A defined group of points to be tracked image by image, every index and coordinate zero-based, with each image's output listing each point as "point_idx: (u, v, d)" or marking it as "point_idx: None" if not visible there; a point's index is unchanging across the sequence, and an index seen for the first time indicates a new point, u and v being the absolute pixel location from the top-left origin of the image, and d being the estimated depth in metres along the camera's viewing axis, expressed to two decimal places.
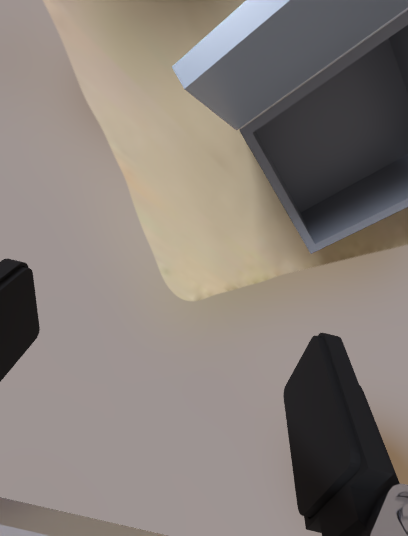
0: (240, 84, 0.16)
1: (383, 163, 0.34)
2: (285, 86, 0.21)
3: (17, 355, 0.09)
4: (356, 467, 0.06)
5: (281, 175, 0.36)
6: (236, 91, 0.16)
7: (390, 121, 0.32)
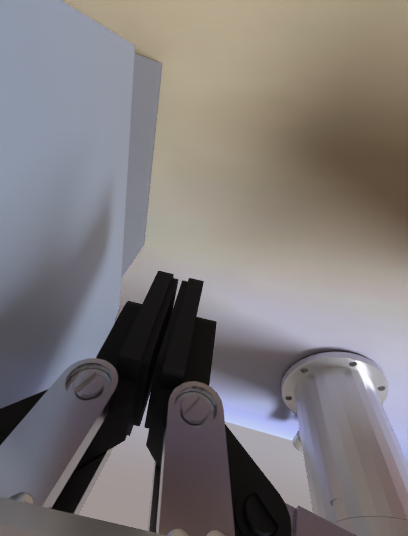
0: None
1: None
2: None
3: None
4: (160, 369, 0.07)
5: None
6: None
7: None
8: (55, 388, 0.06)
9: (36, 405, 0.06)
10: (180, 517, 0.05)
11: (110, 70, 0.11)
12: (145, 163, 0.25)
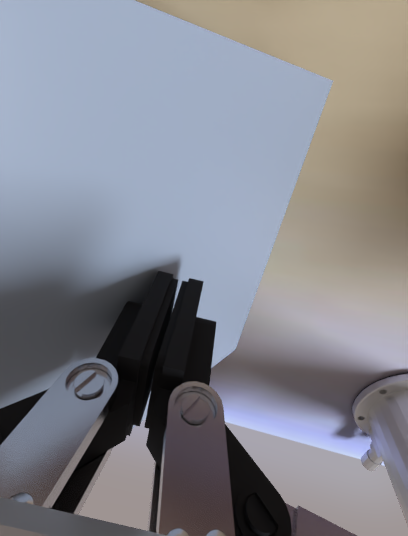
0: None
1: None
2: None
3: None
4: (161, 369, 0.07)
5: None
6: None
7: None
8: (55, 388, 0.06)
9: (36, 405, 0.06)
10: (180, 517, 0.05)
11: (262, 99, 0.10)
12: None
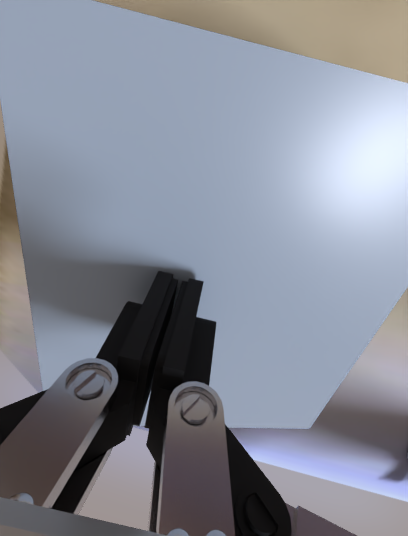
0: None
1: None
2: None
3: None
4: (161, 369, 0.07)
5: None
6: None
7: None
8: (55, 388, 0.06)
9: (36, 405, 0.06)
10: (180, 517, 0.05)
11: (358, 124, 0.08)
12: None
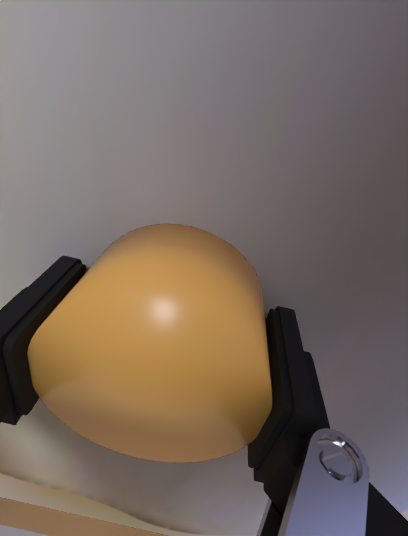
0: None
1: None
2: None
3: None
4: (288, 414, 0.07)
5: None
6: None
7: None
8: None
9: None
10: None
11: None
12: None
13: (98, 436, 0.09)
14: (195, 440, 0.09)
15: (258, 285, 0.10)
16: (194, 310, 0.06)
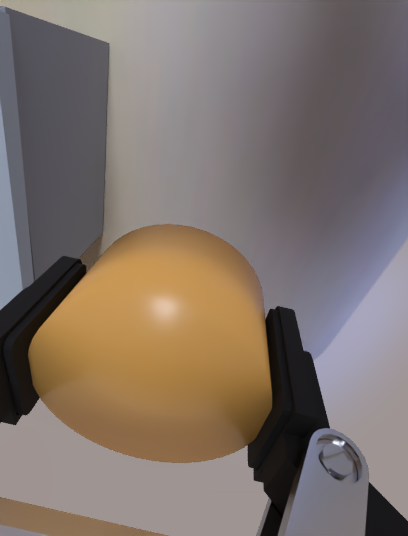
0: None
1: None
2: None
3: None
4: (288, 414, 0.07)
5: None
6: None
7: None
8: None
9: None
10: None
11: None
12: None
13: (98, 435, 0.09)
14: (196, 441, 0.09)
15: (258, 286, 0.10)
16: (195, 311, 0.06)
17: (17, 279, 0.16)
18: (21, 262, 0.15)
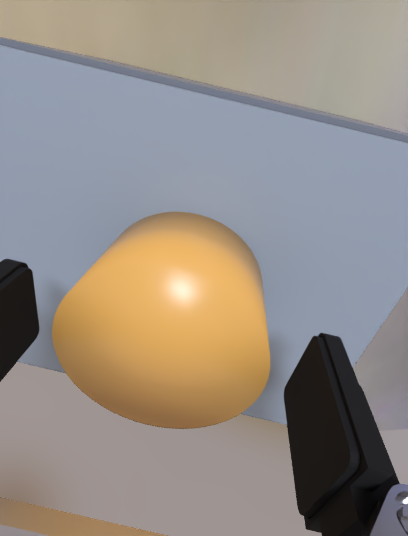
0: None
1: None
2: None
3: (17, 355, 0.09)
4: (356, 467, 0.06)
5: None
6: None
7: None
8: None
9: None
10: None
11: (6, 200, 0.11)
12: None
13: (111, 402, 0.10)
14: (201, 405, 0.09)
15: (258, 268, 0.11)
16: (204, 277, 0.07)
17: None
18: None
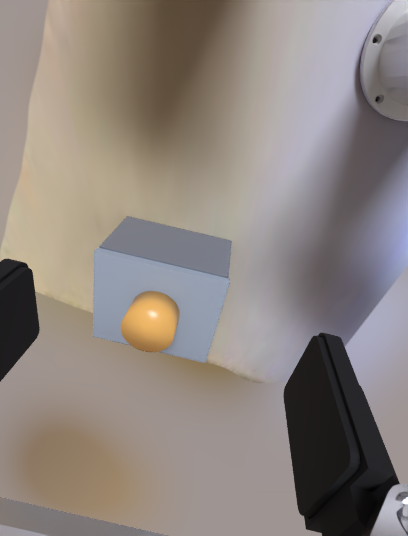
0: None
1: None
2: None
3: (17, 355, 0.09)
4: (356, 467, 0.06)
5: None
6: None
7: None
8: None
9: None
10: None
11: (102, 286, 0.38)
12: (171, 233, 0.43)
13: (134, 344, 0.37)
14: (158, 344, 0.36)
15: (176, 307, 0.37)
16: (156, 313, 0.34)
17: (207, 349, 0.41)
18: None
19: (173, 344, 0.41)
